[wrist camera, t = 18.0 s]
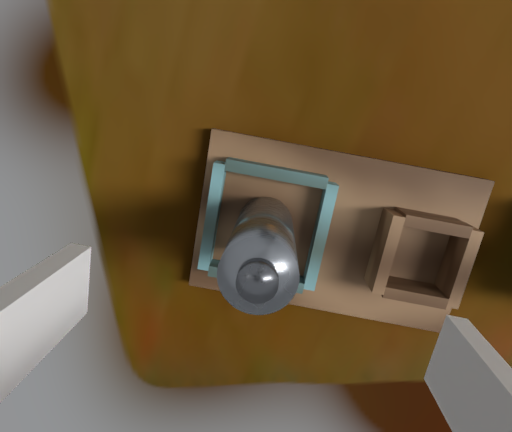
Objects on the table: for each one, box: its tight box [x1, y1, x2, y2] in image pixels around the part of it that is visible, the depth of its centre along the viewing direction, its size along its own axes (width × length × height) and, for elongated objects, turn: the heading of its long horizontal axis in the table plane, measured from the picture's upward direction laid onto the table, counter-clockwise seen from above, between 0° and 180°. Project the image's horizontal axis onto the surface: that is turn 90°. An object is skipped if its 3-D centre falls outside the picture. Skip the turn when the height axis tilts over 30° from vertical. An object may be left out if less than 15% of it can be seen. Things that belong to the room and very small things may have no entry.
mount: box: [189, 129, 495, 333], centre depth 27 cm, size 12×20×4 cm, turn 80°
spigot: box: [217, 197, 300, 315], centre depth 23 cm, size 4×4×11 cm
